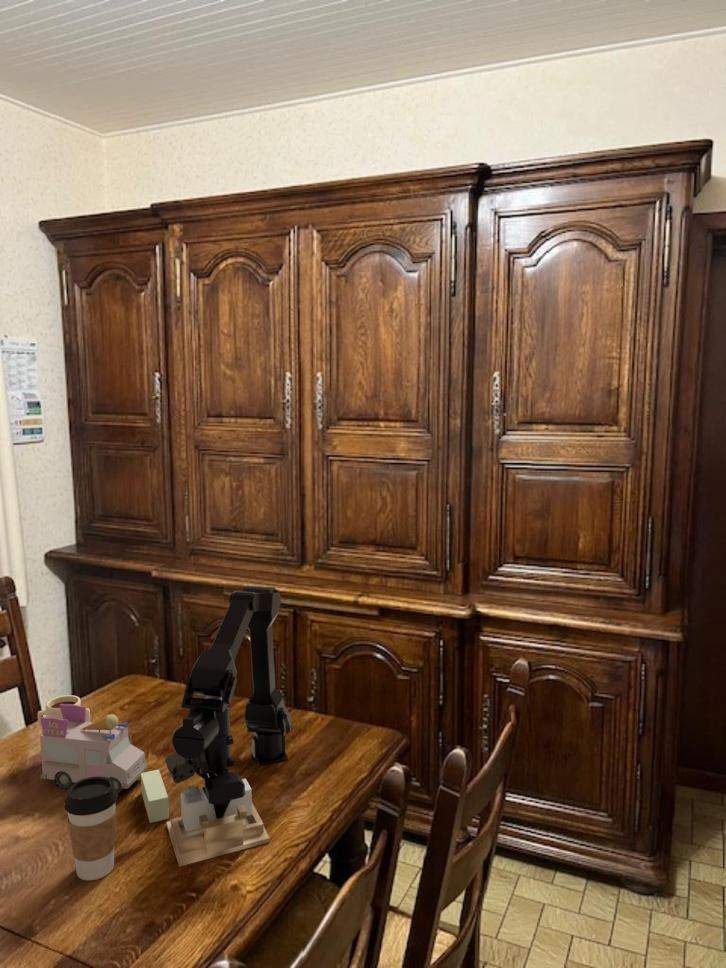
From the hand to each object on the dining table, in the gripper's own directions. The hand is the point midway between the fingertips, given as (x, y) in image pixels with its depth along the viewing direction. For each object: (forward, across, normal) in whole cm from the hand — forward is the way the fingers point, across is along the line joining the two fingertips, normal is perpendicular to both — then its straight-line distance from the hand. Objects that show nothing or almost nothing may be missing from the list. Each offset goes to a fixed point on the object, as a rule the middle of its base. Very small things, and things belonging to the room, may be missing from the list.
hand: (216, 811), depth 131 cm
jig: (+4, 0, 0) cm, 4 cm away
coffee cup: (+4, +1, -21) cm, 22 cm away
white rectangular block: (+1, 0, 0) cm, 1 cm away
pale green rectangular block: (+4, -14, -9) cm, 17 cm away
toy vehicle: (+5, -28, -19) cm, 34 cm away
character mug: (+5, -41, -24) cm, 48 cm away
